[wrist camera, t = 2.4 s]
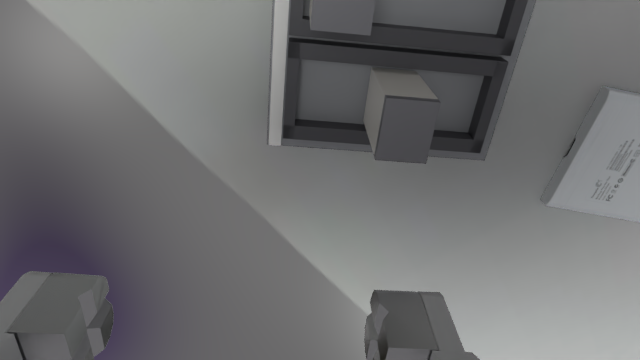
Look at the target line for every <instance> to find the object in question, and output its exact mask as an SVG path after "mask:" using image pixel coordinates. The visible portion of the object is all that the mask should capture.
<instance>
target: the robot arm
mask: <svg viewBox="0 0 640 360" xmlns="http://www.w3.org/2000/svg"><path fill="white" fill-rule="evenodd" d="M108 291H109V287H108V283H107V279H106V278H105V277H103V276H94V275H81V274H67V273H47V272H35V271H30V272H28V273H26V274H24V275H22V276H21V278H20V279H19V280H18V282H16V284H15V285H14V286H13V287H12V288H11V290H10V291H9V292H8V293H7V295H6V296H5V297H4V298H3V299H2V301H1V302H0V360H94V356H96V355H97V354H98V353H100V352H101V351H102V350H104V349H105V347H106V345H107V342H108V340H109V338H110V335H111V330H112V326H113V308H112V304H111V303H109V302H108V301H107V300H106V299H105V296H106V294H107V292H108ZM370 304H371V310H372V313H371V314H370V315H369V316H367V320H366V326H365V339H364V340H365V353H366V359H367V360H480V359H479V358H477V357H476V356H475V355H474V354H473V353H472V352H465V351H464V348H463V346H462V343H461V341H460V338H459V335H458V333H457V330H456V328H455V325H454V323H453V320H452V318H451V315H450V312H449V310H448V307H447V305H446V302H445V300H444V297H443V295H442V294H441V293H440V292H412V291H389V290H374V292H373V293H372V297H371V301H370Z"/></svg>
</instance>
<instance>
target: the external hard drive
mask: <svg viewBox="0 0 640 360" xmlns="http://www.w3.org/2000/svg"><path fill="white" fill-rule="evenodd" d="M575 138H576V140H575V142H574V144H573V146H572V148H571V150H570V151H569V153H568V155H567V156H565V157H563V159H562V161H561V163H560V164H559V166H558V168H557V170H556V172H555V174H554V175H553V177H552V179H551V181H550V183H549V184H548V186H547V188H546V190H545V192H544V194H543V195H542V197H541V199H540V200H541V201H542V203H543V204H544V205H545V206H549V207H555V208H561V209H567V210H572V211H578V212H583V213H588V214H594V215H600V216H605V217H611V218H617V219H622V220H628V221H634V222H640V94H639V93H635V92H630V91H625V90H620V89H616V88H611V87H606V86H602V87H601V89H600V91H599V93H598V95H597V97H596V99H595V100H594V102H593V104H592V106H591V108H590V109H589V111H588V113H587V115H586V117H585V119H584V120H583V122H582V124H581V126H580V128H579V130H578V132H577V133H576V135H575Z"/></svg>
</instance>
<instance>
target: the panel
mask: <svg viewBox="0 0 640 360" xmlns="http://www.w3.org/2000/svg"><path fill="white" fill-rule="evenodd" d="M535 2H536V0H376V2H375V8H374V15H373V22H372V28H371V35H370V36H369V35H358V34H348V33H337V32H327V31H316V30H310V16H309V6H310V0H273V9H272V33H271V58H270V82H269V107H268V131H267V144H269V145H273V146H281V145H283V146H297V147H310V148H324V149H337V150H351V151H364V152H373V151H372V147H371V144H370V141H369V138H368V135H367V131H366V128H365V125H364V122H363V118H364V112H365V106H366V99H367V93H368V86H369V80H370V74H371V67H373V68H384V69H396V70H407V71H416V72H417V73H418V74H419V76H420V77H421V78H422V79H423V81H424V82H425V83H426V84H427V86H428V87H429V88H430V89H431V91H432V92H433V93H434V94H435V96H436V97H437V98H438V99H439V101H440V102H441V105H440V109H439V113H438V117H437V121H436V125H435V129H434V133H433V137H432V141H431V145H430V149H429V153H428V156H431V157H445V158H458V159H471V160H485V158H486V154H487V151H488V148H489V145H490V142H491V139H492V136H493V133H494V130H495V126H496V123H497V120H498V117H499V114H500V111H501V108H502V105H503V102H504V99H505V95H506V92H507V89H508V86H509V83H510V80H511V77H512V74H513V71H514V67H515V64H516V61H517V58H518V55H519V52H520V49H521V46H522V43H523V39H524V36H525V33H526V30H527V27H528V24H529V21H530V18H531V15H532V12H533V8H534V5H535Z"/></svg>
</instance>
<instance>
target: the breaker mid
mask: <svg viewBox="0 0 640 360" xmlns="http://www.w3.org/2000/svg"><path fill="white" fill-rule="evenodd" d="M375 2H376V0H310V6H309V16H310V30H316V31H327V32H337V33H348V34H358V35H369V36H370V35H371V28H372V22H373V15H374V8H375Z"/></svg>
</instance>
